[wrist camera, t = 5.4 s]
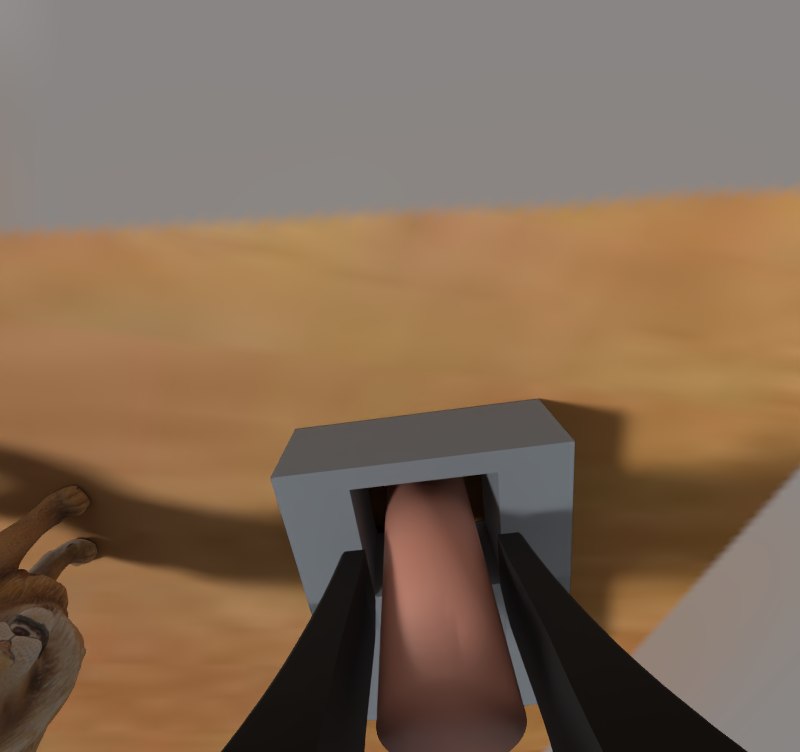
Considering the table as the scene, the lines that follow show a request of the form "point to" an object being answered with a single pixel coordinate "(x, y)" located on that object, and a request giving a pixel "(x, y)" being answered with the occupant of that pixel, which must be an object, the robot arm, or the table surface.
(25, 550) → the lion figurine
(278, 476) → the hole block
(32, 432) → the table surface
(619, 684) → the robot arm
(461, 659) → the peg
